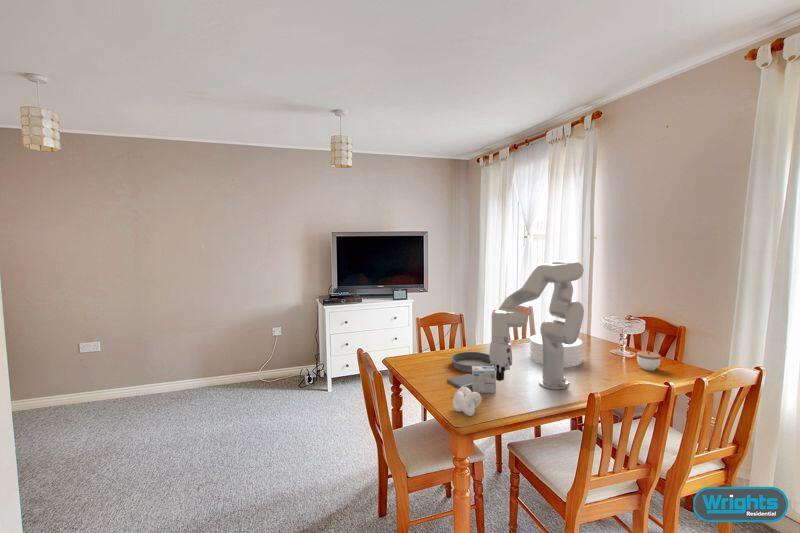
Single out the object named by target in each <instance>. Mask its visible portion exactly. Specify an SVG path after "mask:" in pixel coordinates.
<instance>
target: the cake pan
mask: <svg viewBox="0 0 800 533" xmlns="http://www.w3.org/2000/svg"><path fill="white" fill-rule="evenodd" d="M450 361H452V363H453V368H455V369H457V370H459V371H461V372H467V373H472V366H494V365H492V364H491V361H490V358H489V354H488V353H485V352H479V351H462V352H457V353H454V354H452V355H451V356H450ZM486 363H487V364H486Z"/></svg>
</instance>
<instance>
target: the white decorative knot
mask: <svg viewBox="0 0 800 533" xmlns="http://www.w3.org/2000/svg"><path fill="white" fill-rule="evenodd" d="M452 399H453V400H452V407H453V409H454V411H455V412H459V413H461V412H463V414H465V415H466V416H469V417H472V416H474V415H475V412H476V408H478V407H479V406H480V405H481V403H482V395H481V393H477V392H473V391H472V390H471V389H470V387H469V388H467V387H461V388H458V389H457V391H455V393H454V396H453V398H452Z"/></svg>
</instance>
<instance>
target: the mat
mask: <svg viewBox="0 0 800 533" xmlns="http://www.w3.org/2000/svg"><path fill="white" fill-rule="evenodd" d="M446 382H448V383H450V384H451V385H453V386H455V387H456V388H458V389H460V388H461V387H467V388H469V389H470V388H472V373H466V374H462V375H457V376H455V377H449V378H446Z"/></svg>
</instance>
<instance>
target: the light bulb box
mask: <svg viewBox="0 0 800 533" xmlns="http://www.w3.org/2000/svg"><path fill="white" fill-rule="evenodd" d="M471 375H472V387H471V388H472V392H477V393H479V394H481V393H483V394H496V393H497V383H496V382H497V380H496V371H495V367H494V365H493V366H472V372H471Z"/></svg>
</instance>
